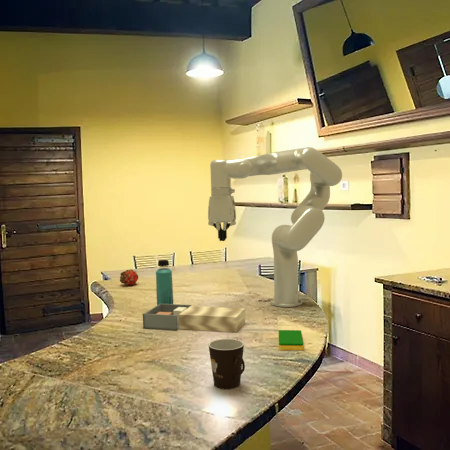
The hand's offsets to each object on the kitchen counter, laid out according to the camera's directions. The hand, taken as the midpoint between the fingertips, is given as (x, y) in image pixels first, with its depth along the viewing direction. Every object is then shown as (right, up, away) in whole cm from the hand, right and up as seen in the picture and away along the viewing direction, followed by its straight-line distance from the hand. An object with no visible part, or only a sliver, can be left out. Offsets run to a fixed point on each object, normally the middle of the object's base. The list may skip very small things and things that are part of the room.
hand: (222, 240), depth 197 cm
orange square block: (-21, -25, -15) cm, 36 cm away
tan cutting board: (-3, -29, -19) cm, 35 cm away
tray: (-19, -29, -15) cm, 38 cm away
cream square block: (-13, -26, -17) cm, 34 cm away
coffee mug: (+2, -33, -72) cm, 80 cm away
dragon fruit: (-46, -24, +56) cm, 76 cm away
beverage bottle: (-22, -28, +3) cm, 36 cm away
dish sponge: (+21, -31, -40) cm, 54 cm away
